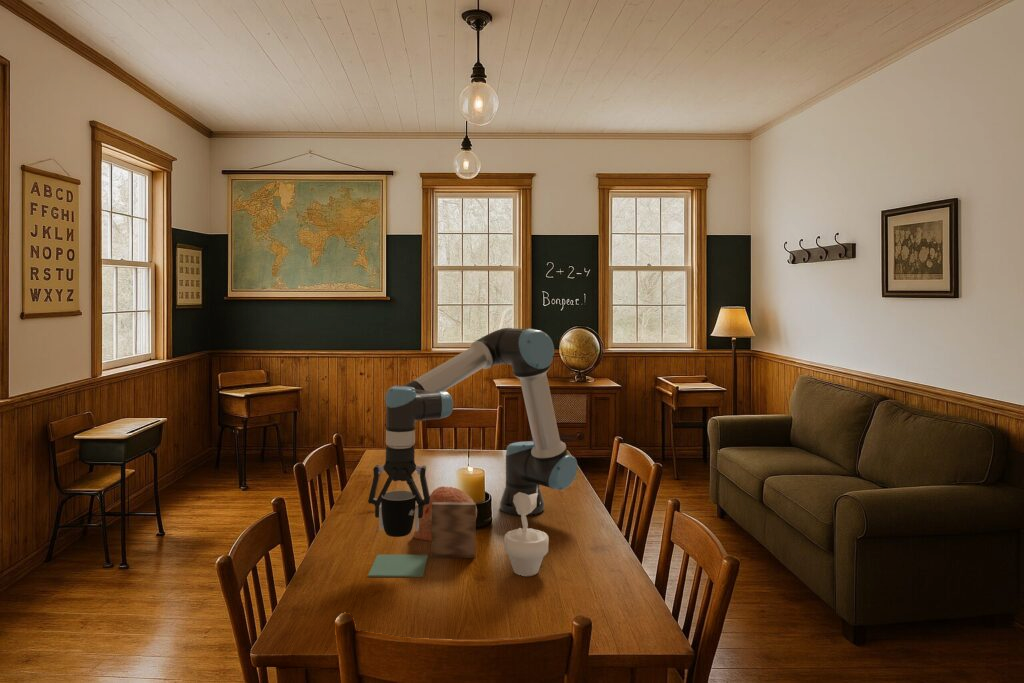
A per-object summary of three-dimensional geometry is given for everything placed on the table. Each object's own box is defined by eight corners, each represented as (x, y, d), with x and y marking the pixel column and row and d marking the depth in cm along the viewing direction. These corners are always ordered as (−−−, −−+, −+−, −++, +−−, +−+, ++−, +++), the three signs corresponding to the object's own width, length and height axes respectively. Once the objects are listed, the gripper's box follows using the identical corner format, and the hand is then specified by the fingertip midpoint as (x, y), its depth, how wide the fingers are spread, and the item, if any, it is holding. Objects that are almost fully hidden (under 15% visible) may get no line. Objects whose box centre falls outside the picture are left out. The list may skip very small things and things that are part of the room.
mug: (412, 539, 171) (412, 500, 171) (377, 538, 171) (377, 499, 171) (419, 524, 183) (420, 487, 183) (387, 523, 183) (387, 486, 183)
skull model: (430, 524, 212) (430, 477, 211) (484, 533, 205) (485, 484, 204) (405, 540, 197) (406, 489, 197) (463, 549, 191) (463, 497, 190)
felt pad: (428, 556, 185) (428, 554, 185) (422, 577, 171) (422, 575, 171) (377, 555, 185) (377, 554, 185) (368, 576, 171) (368, 575, 171)
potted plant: (534, 585, 168) (536, 487, 166) (495, 574, 174) (496, 480, 172) (557, 568, 178) (559, 476, 177) (520, 559, 184) (522, 470, 183)
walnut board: (475, 551, 190) (476, 499, 189) (474, 558, 185) (475, 504, 184) (433, 550, 189) (433, 498, 188) (431, 557, 184) (432, 504, 183)
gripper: (442, 443, 180) (440, 525, 181) (362, 441, 180) (361, 524, 181) (439, 449, 173) (438, 534, 174) (356, 447, 172) (355, 533, 173)
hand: (399, 529), depth 177 cm, fingers closed on mug, 9 cm apart
